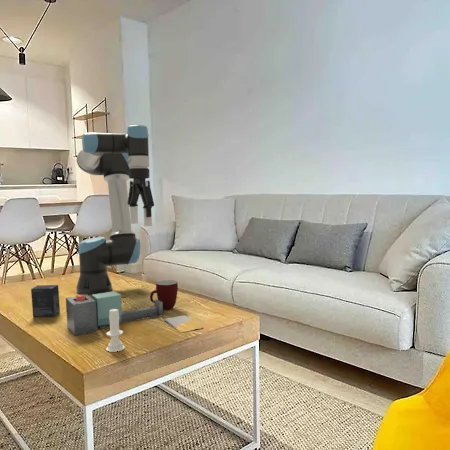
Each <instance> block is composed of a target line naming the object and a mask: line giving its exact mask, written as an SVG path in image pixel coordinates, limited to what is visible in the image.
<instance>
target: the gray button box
mask: <svg viewBox="0 0 450 450" xmlns="http://www.w3.org/2000/svg"><path fill="white" fill-rule="evenodd" d="M84 295H85V300H84V301H77V302H76V296H77V295H75V296H69V297H65V305H66V306H65V309H66V310H65V311H66V324H67V325H66V327H67V329H69V331H70V332H71V333H72V334H73V335H74V336H80V335H85V334H90V333H97V332H98V327H97V317H96V301H95V300H94V299H92V296H90V295H89V294H84Z"/></svg>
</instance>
